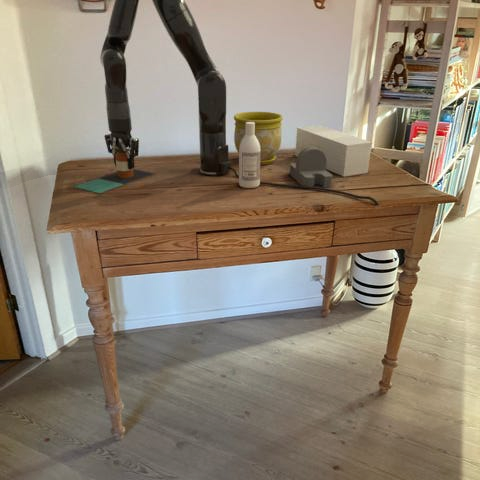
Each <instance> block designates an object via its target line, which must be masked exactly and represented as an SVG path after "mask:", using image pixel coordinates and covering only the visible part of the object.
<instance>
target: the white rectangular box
mask: <svg viewBox="0 0 480 480" xmlns="http://www.w3.org/2000/svg"><path fill="white" fill-rule="evenodd" d="M295 136H296V138H295V152H294V153H295V154H294V156H295V157H297V156H298V154H299V153H300V152H301V151H302V150H303V149H305V148H307V147H315V148H317V149H319V150H320V151H322V152H323V153H324V155H325V157H326V171H330V172H331V173H335V174H337V175H339V176H341V177H343V178H344V177H351V176H356V175H365V174H368V173H369V167H370V166H369V165H370V159H371V151H372V144H373V142H372V141H369V140H366V139H363V138H360V137H358V136H355V135H351V134H348V133H345V132H343V131H339V130H336V129H333V128H330V127H327V126H323V125H320V124H318V125H307V126H298V127H296V135H295Z"/></svg>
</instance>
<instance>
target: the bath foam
mask: <svg viewBox="0 0 480 480" xmlns="http://www.w3.org/2000/svg"><path fill="white" fill-rule="evenodd" d="M260 153H261V150H260V144H259V142H258V140H257V138H256V136H255V123H254V122H246V124H245V136H244V138H243V139H242V141H241V143H240V147H239V153H238V176H239V178H238V185H239V186H240V187H241V188H244V189H256V188H258V187H259V186H260V185H261V184H260V182H261V165H260Z"/></svg>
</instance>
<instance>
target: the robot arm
mask: <svg viewBox="0 0 480 480" xmlns="http://www.w3.org/2000/svg"><path fill="white" fill-rule="evenodd" d="M151 1H152V3H153V6H154V8H155V11H156V12H157V15H158V17H159V19H160V22H161V23H162V25H163V27H164V29H165V31H166V32H167V34H168V36H169V38H170V39H171V41H172V43H173V44H174V46H175V47H176V49H177V50H178V51H179V53H180V55H182V57H183V59H184V60H185V61H186V63H187V65H188V67H189V69H190V71H191V73H192V76H193V78H194V81H195V83H196V86H197V98H198V99H197V100H198V101H197V102H198V103H197V104H198V133H199V135H198V136H199V137H198V138H199V158H198V159H199V164H200V166H199V167H200V173H201V174H202V175H204V176H217V177H218V176H219V177H220V176H222V175H225V174H227V173H229V171H232V172H233V173H234V176H235V177H236V178H237V179H239V174H238V172H237V170H236V169H235V168H233V162H232V161H230V160H229V157H230V156H229V145H228V144H227V83H226V80H225V78H224V76H223V74H222V73H221V72H220V70H218V68H217V66H216V64H215V63H214V62H213V60H212V58H211V57H210V55H209V53H208V51H207V49H206V46H205V44H204V40H203V37H202V35H201V32H200V29H199V27H198V25H197V22H196V20H195V18H194V15H193V14H192V12H191V10H190V8H189V6H188V5H187V3H186V1H185V0H151ZM139 3H140V0H114V3H113V5H112V9H111V14H110V19H109V23H108V26H107V27H108V28H107V32H106V36H105V39H104V42H103V45H102V47H101V52H100V57H99V61H100V64H101V66H102V67H103V72H104V79H105V84H104V94H105V103H106V106H105V107H106V109H105V110H106V116H107V125H108V131H109V132H110V133H108V134H105V135H104V136H103V137H104V141H105V145H106V148H107V152H108V153H109V154H111V155H112V156H113V163H114V167H116V157H115V154H116V153H117V152H118V151H119V147H122V148H123V151H124V152H125V153H126V155H127V162H128V169H130V170H131V169H134V168H135V167H136V165H135V157H138V156H139V152H140V151H139V150H140V149H139V148H140V139H139V138H137V137H136V138H134V137H133V135H132V133H131V132H132V130H133V127H132V126H133V125H132V116H131V115H132V114H131V108H130V103H129V93H128V87H127V61H126V57H125V53H126V48H127V44H128V43H129V42H130V40H131V37H132V33H133V31H134V26H135V23H136V19H137V15H138V8H139ZM129 153H130V154H129ZM260 185H266V186H274V187H284V188H295V189H307V190H315V191H324V192H330V193H336V194H341V195H344V196H348V197H352V198H355V199H360V200H370V201H372V202H373V203H374V204H375V205H376V206H380V204H379V202H378V201H377V200H376V199H375V198H373V197H372V196H366V195H365V196H364V195H357V194H354V193H350V192H346V191H341V190H337V189H332V188H327V187H318V186H314V187H310V186H302V185H297V184H285V183H275V182H267V181H266V182H265V181H260Z"/></svg>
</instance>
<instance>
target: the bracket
mask: <svg viewBox="0 0 480 480" xmlns="http://www.w3.org/2000/svg"><path fill="white" fill-rule="evenodd" d="M289 175H290V176H291V178H293V179H294V180H295V181H296V182H297V183H298V184H300V186H310V187H315V185H320V186H322V188H331V187H332V186H333V177H334V176H333V174H332V173H331V172H329V170H327V169H326V157H325V155H324V153H323V152H322V151H320V150H319V149H317V148H315V147H307V148H305V149H303V150H302V151H301V152H300V153H299V154H298V156H296V160H295V162H290V164H289Z"/></svg>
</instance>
